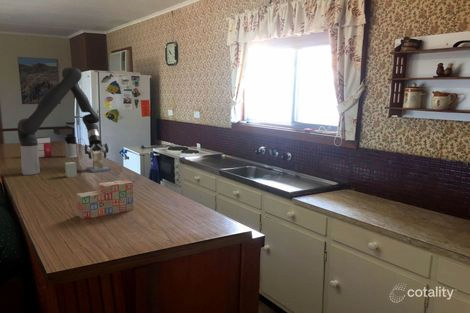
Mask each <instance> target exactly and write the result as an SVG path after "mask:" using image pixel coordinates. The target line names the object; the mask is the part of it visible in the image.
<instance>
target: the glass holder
mask: <svg viewBox="0 0 470 313" xmlns="http://www.w3.org/2000/svg"><path fill="white" fill-rule="evenodd" d="M80 140H81V138H79V139H78V141H77V140H76V136H65V137H64V146H65V148H64V150H65V158H77V157H78V153H79V152H80V151H81V150H82V149H83V148H84V147H85V144H83V145H82V147H81V148H80V149H79V150H78V151H77V148H78V147H77V144H79V143H80V142H79V141H80ZM82 141H85V140H84V139H83V138H82Z"/></svg>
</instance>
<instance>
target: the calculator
mask: <svg viewBox="0 0 470 313" xmlns="http://www.w3.org/2000/svg"><path fill="white" fill-rule="evenodd" d="M36 139H37V141H38V154H39V159H40V158H49V157H52V143H51V137H50V136H41V137H40V136H39V137H36Z"/></svg>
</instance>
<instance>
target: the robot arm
mask: <svg viewBox="0 0 470 313" xmlns="http://www.w3.org/2000/svg"><path fill="white" fill-rule="evenodd" d="M82 74H83V73H82V71H81V70H80V69H79V68H77V67H70V66H69V67H65V68H63V70H62V72H61V75H62V80H61V81H60V82H59V83H57V84H55V85H54V86H53V87H51V88H50V89H49V90H48V91H47V92H46V93H45V94H44V95H43V96H42V97H41V98H40V100H39V102H38V103H37V106H36V109H35V110H34V111H33V113H32V114H30V116H29V117H27V118H21V119H20V120H19V121H18V123H17V134H18V141H19V143H20V153H21V154H20V155H21V156H20V164H21V166H20V167H21V174H23V175H24V176H26V175H28V176H30V175H37V174H40V173H41V170H40V169H41V168H40V158H39V154H38V141H37V139H36V138H37V137H36V133H37V132H38V130H39V129H40V127H41V126H42V124H43V122H44V121H45V120H46V119H47V117H49V115H50V114H52V112H53V111H54V109H56V108H57V107H58V105H59V104H60V103H61V101H62V100H63V99H64V98H65V97H66V95H67V94H68V93H69V91H70V90H71V93H72V94H73V97H74V98H75V100H76V103H77V105H78V107H79V109H80V111H81V112H82V113H88V114H85V115H83V116H82V118H81V120H82V122H83V124H84V126H85V127H86V128H85V129H86V130H87V131H86V132H87V139H88V145H87V144H86V143H84V146H83V148H84V154H85V155H88V159H90V160H93V156H92V152H102V153H103V159H106V158H107V154H108V153H109V147H108V143H107V142H106V143H102V139H101V134H100V132H99V131H100V130H99V127H98V125H97V123H99V121H100V117H99V115H98V113H97V112H96V111H95V110H94V109H93V107H92V106H91V103H90V100H89V98H88V96H87V95H86V94H85V92H84V91H83V90H82V88H81V87H80V84H79V81H81V79H82V76H83V75H82Z"/></svg>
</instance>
